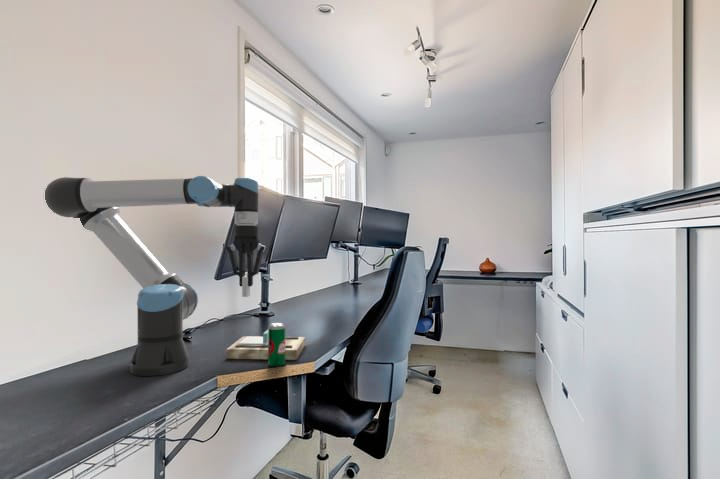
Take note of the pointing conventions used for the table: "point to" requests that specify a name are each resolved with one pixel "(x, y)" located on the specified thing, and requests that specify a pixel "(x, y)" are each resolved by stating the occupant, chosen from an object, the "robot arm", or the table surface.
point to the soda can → (276, 344)
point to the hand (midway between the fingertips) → (246, 296)
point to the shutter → (255, 340)
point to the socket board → (265, 349)
